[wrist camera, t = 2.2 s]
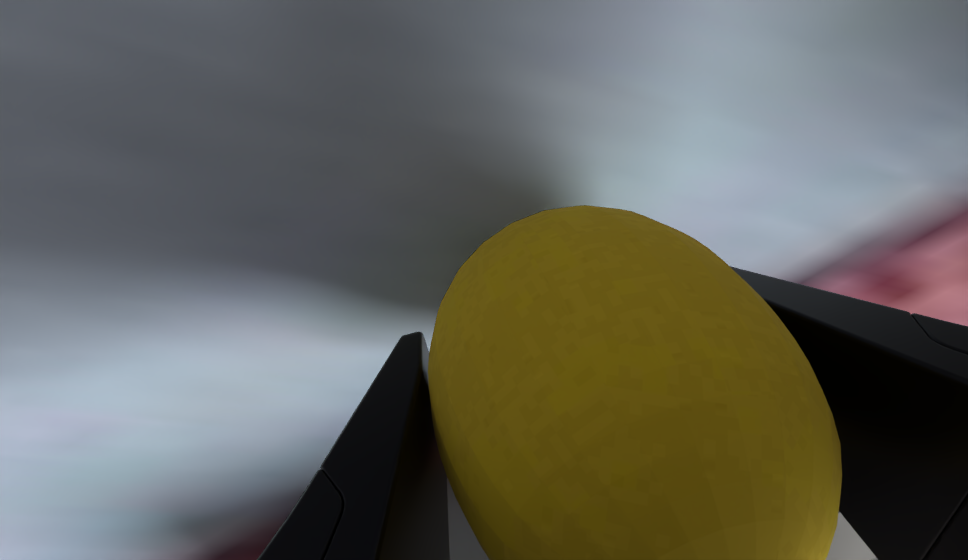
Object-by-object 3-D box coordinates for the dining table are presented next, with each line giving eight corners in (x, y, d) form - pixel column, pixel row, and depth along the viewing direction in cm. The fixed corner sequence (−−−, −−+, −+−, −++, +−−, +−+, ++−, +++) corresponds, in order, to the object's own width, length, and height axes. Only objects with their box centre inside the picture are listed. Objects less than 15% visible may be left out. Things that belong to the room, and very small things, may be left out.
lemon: (377, 212, 9) (329, 694, 3) (618, 117, 9) (1221, 363, 3) (465, 383, 12) (550, 824, 6) (650, 312, 12) (971, 673, 5)
